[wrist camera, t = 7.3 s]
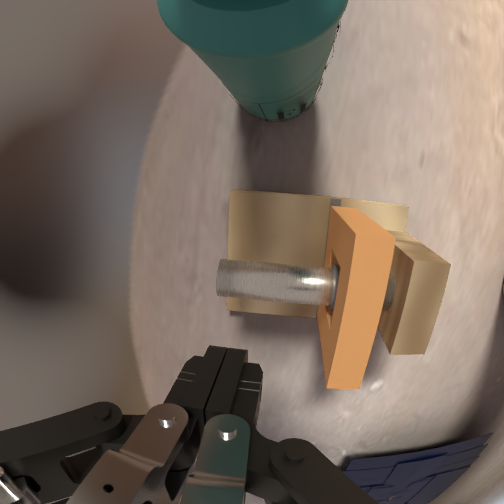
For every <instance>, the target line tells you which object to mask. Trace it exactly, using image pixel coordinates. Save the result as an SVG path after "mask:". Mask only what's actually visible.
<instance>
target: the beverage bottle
mask: <svg viewBox="0 0 504 504" xmlns="http://www.w3.org/2000/svg"><path fill="white" fill-rule="evenodd" d="M347 3H348V0H157V4H158V10H159V13H160V16H161V18H162V20H163V22H164V23H165V25H166V26H167V28H168V29H169V30H170V31H171V32H172V33H173V34H174V35H175V36H176V37H177V38H178V39H180V40H181V41H182V42H184V43H185V44H187V45H188V46H189V47H190V48H191V49H192V50H193V51H194V52H195V53H196V54H197V55H198V56H199V57H200V58H201V59H202V60H203V61H204V63H205V64H206V65H207V66H208V67H209V68H210V69H211V70H212V71H213V72H214V73H215V74H216V75H217V76H218V78H219V79H220V80H221V81H222V82H223V84H224V85H225V86H226V88H227V89H228V90H229V91H230V92H231V94H232V95H233V96H234V98H236V100H237V101H238V102H239V103H240V104H241V105H242V107H244V109H246V110H247V111H248V112H250V113H249V114H250V115H251V113H252V115H255V116H256V117H260V118H264V119H266V120H267V119H268V120H279V121H280V122H281V121H282V120H283V119H286V121H287V119H288V118H290V120H291V117H293V118H294V116H296V115H297V116H298V114H300V113H302V112H303V111H304V110H306V108H307V107H308V106H309V105H310V103H311V102H312V101H313V99H314V97H315V95H316V92H317V89H318V86H319V85H320V82H322V81H320V80H321V78H322V75H323V72H324V69H326V63H327V60H328V57H329V55H330V52H331V49H332V45H333V42H335V41H334V39H336V38H335V35H336V36H337V32H338V30H337V28H338V29H339V27H340V28H341V22H340V25H339V24H338V23H339V20H340V18H341V17H342V15H343V13H344V11H345V9H346V6H347ZM336 30H337V32H336ZM339 34H340V33H339ZM333 52H334V46H333ZM332 56H333V55H332ZM328 63H329V62H328ZM325 72H326V71H325ZM322 83H323V82H322ZM322 83H321V85H322ZM321 85H320V86H321ZM320 88H321V87H320ZM319 90H320V89H319ZM230 96H231V95H230ZM231 97H232V96H231ZM315 99H316V98H315ZM313 102H314V101H313ZM313 102H312V104H313ZM237 104H238V103H237ZM238 105H239V104H238ZM311 106H312V105H311ZM304 112H306V111H304ZM301 115H302V114H301ZM299 116H300V115H299ZM260 118H259V119H260ZM257 119H258V118H257ZM268 120H267V121H268ZM264 121H265V120H264ZM271 122H272V121H271Z"/></svg>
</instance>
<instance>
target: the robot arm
mask: <svg viewBox="0 0 504 504" xmlns="http://www.w3.org/2000/svg"><path fill="white" fill-rule="evenodd" d="M503 296H504V286H503ZM262 379H263V372H262V369H261V367H260V365H259V364H255V363H248V350H243V349H235V348H226V347H218V346H211V345H210V346H209V347H208V349H207V351H206V353H205V355H204V357H201V356H194V357H192V358H191V359H190V360H188V361H187V362H186V363H185V365H184V366H183V368H182V370H181V372H180V374H179V376H178V377H177V379H176V381H175V383H174V385H173V386H172V388H171V390H170V392H169V394H168V396H167V397H166V399H165V401H164V403H163V404H158V405H156V406H154V407H152V408H151V409H149V411H148V412H147V413H146V414H145V415H122V412H121V410H120V408H119V407H118V406H117V405H115V404H113V403H110V402H97V403H94V404H91V405H88V406H85V407H82V408H79V409H76V410H73V411H70V412H66V413H63V414H60V415H57V416H54V417H50V418H47V419H44V420H40V421H37V422H33V423H30V424H26V425H22V426H19V427H15V428H11V429H7V430H3V431H0V504H45V503H49V502H52V501H56V500H59V499H63V498H66V497H69V496H71V497H70V498H67V499H64V500H61V501H58V502H55V503H52V504H178V502H179V500H180V498H181V496H182V498H181V501H180V504H245V497H246V492H248V493H251V494H253V495H256V496H258V497H261V498H263V499H264V500H265V502H266V504H379V503H378V502H376V501H375V500H374V499H373V498H372V497H370V496H369V495H368V494H367V493H366V492H365V491H363V490H362V489H361V488H360V487H359V486H358V485H356V484H355V483H354V482H353V481H352V480H351V479H350V478H348V477H347V476H346V475H345V474H344V473H343V472H342V471H341V470H340V469H338V468H337V467H336V466H335V465H334V464H333V463H332V462H331V461H330V460H329V459H328V458H327V457H326V456H324V455H323V454H322V453H321V452H320V451H319V450H318V449H317V448H316V447H315V446H314V445H313V444H311V443H310V442H308V441H306V440H303V439H297V438H291V439H285V440H282V441H280V442H275V441H272V440H269V439H267V438H265V437H264V436H262V435H261V434H260V433H259V432H258V431H257V430H256V424H257V419H258V413H259V408H260V402H261V392H262ZM91 447H96V448H95V449H92V450H89V451H86V452H84V453H81V454H78V455H75V456H72V457H66V456H69V455H72V454H74V453H78V452H80V451H83V450H86V449H89V448H91ZM197 454H198V455H197ZM196 457H197V459H196ZM195 460H196V462H195ZM192 473H193V474H192Z"/></svg>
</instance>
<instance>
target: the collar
mask: <svg viewBox="0 0 504 504" xmlns="http://www.w3.org/2000/svg"><path fill="white" fill-rule="evenodd" d="M395 240H396V237H394V236H393V235H392V234H390V233H389V232H388V231H386V230H385V229H384V228H383V227H381V226H380V225H379V224H377V223H376V222H375V221H373V220H372V219H371V218H369V217H368V216H367V215H365V214H364V213H362V212H361V211H360V210H358V209H357V208H349V207H339V206H331V208H330V218H329V228H328V237H327V246H326V254H325V262H324V267H327V268H332V265H333V264H339V265H340V274H339V281H338V287H337V294H336V300H335V305H334V310H329V307H328V306H326V305H318V312H317V320H318V327H319V334H320V341H321V349H322V356H323V364H324V373H325V381H326V388H335V389H359V388H360V385H361V382H362V379H363V376H364V373H365V369H366V366H367V363H368V360H369V356H370V353H371V349H372V346H373V342H374V338H375V335H376V331H377V327H378V323H379V319H380V315H381V311H382V307H383V302H384V298H385V293H386V289H387V284H388V279H389V274H390V269H391V264H392V258H393V252H394V246H395Z"/></svg>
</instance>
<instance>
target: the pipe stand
mask: <svg viewBox="0 0 504 504" xmlns="http://www.w3.org/2000/svg"><path fill="white" fill-rule="evenodd" d="M331 206H339V207H349V208H357V209H358V210H360V211H361V212H362V213H364V214H365V215H367V216H368V217H369V218H371V219H372V220H373V221H375V222H376V223H377V224H379V225H380V226H381V227H383V228H384V229H385V230H386V231H388V232H389V233H390V234H392V235H393V236H394V237H396V240H395V246H394V252H393V258H392V264H391V269H390V274H389V279H388V284H387V289H386V293H385V298H384V302H383V307H382V311H381V315H380V319H379V323H378V329H379V331H380V333H381V335H382V338H383V340H384V342H385V344H386V346H387V349H388V351H389V353H390V355H407V354H425V351H426V348H427V346H428V343H429V340H430V337H431V334H432V331H433V328H434V325H435V322H436V319H437V315H438V312H439V309H440V305H441V302H442V298H443V294H444V291H445V287H446V283H447V279H448V275H449V271H450V266H451V264H449V263H448V262H447V261H445V260H444V259H443V258H441V257H440V256H439V255H437V254H436V253H434V252H433V251H432V250H430V249H429V248H427V247H426V246H425V245H423V244H422V243H420V242H419V241H417V240H416V239H414V238H413V237H412V236H410V235H409V234H407V233H406V232H405V229H406V222H407V215H408V208H409V207H407V206H404V205H397V204H389V203H381V202H373V201H365V200H356V199H346V198H337V197H327V196H316V195H304V194H292V193H279V192H264V191H248V190H231V191H230V201H229V231H228V259H221V260H220V262H219V266H218V270H217V278H216V291H217V295H218V296H223V297H227V310H231V311H240V312H250V313H260V314H271V315H283V316H295V317H308V318H316V319H317V312H318V305H326V306H328V307H329V310H334V305H335V300H336V294H337V287H338V281H339V274H340V265H339V264H333V265H332V268H327V267H324V262H325V254H326V246H327V237H328V228H329V218H330V208H331Z"/></svg>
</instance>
